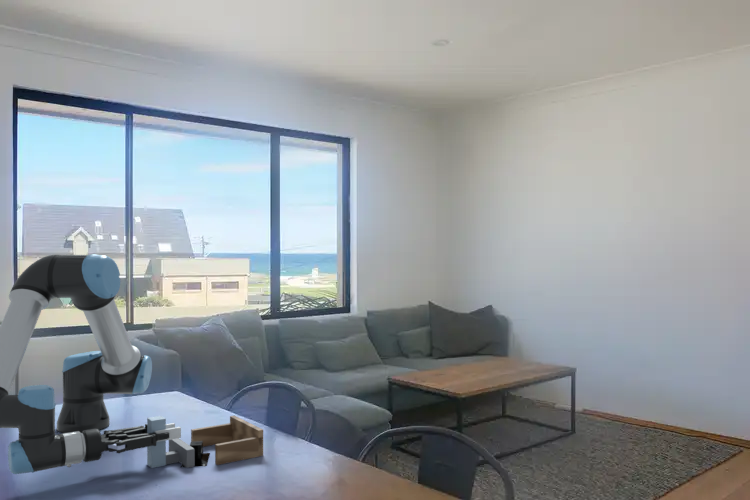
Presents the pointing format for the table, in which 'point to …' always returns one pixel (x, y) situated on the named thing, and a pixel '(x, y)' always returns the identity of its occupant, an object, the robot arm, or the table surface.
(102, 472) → the table surface
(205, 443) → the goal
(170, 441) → the block
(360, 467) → the table surface
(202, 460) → the black angular piece
